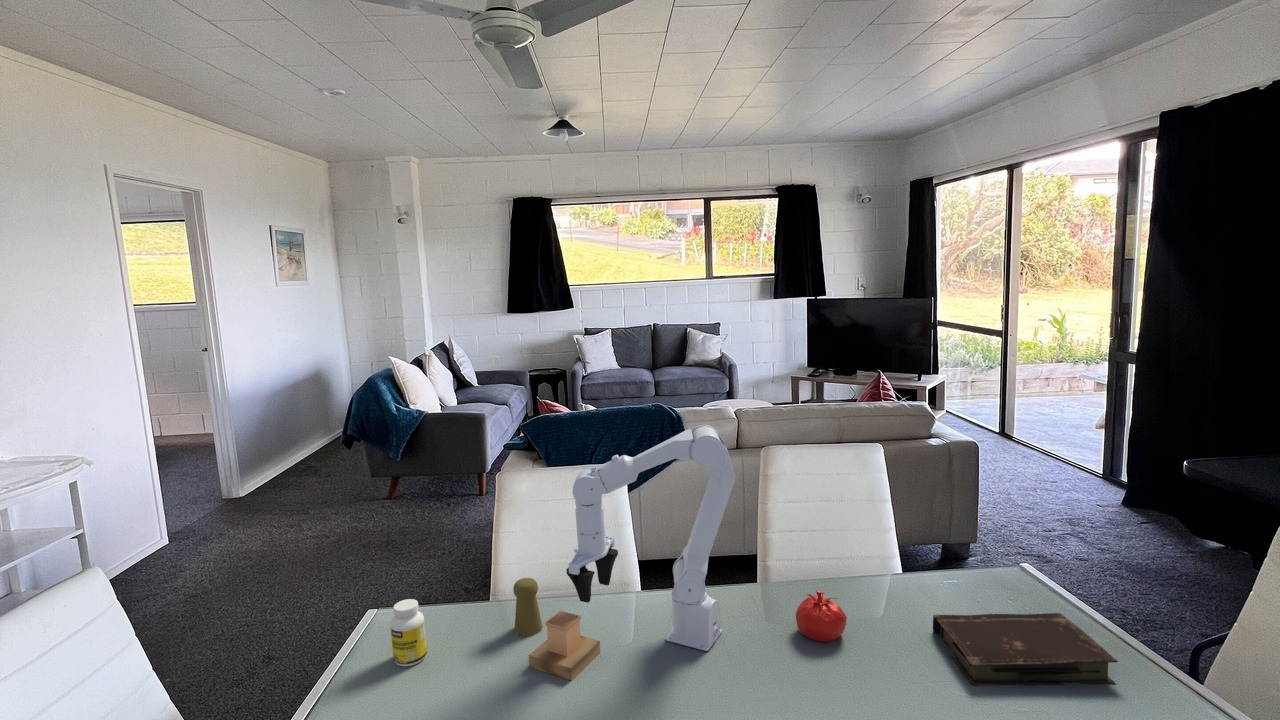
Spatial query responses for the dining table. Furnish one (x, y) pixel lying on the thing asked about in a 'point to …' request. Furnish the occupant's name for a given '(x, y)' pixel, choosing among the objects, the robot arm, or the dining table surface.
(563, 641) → the square wooden stamp
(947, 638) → the diary
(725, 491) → the robot arm
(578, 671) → the walnut block
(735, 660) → the dining table surface
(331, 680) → the dining table surface
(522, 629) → the olive pawn
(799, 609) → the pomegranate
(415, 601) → the pill bottle
